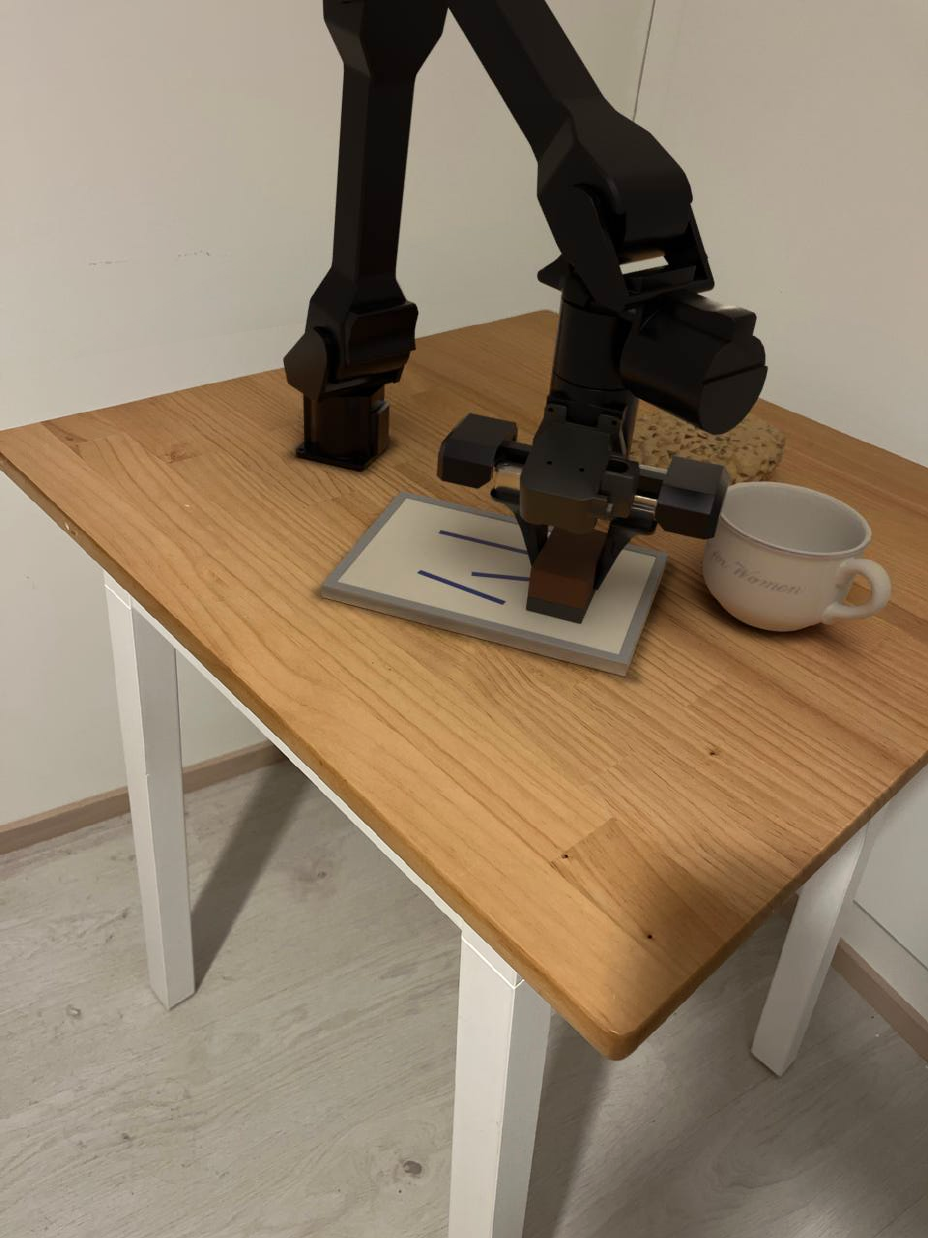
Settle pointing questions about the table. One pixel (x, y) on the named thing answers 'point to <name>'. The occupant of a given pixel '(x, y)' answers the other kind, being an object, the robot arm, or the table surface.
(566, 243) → the robot arm
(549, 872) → the table surface
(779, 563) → the teacup
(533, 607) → the eraser
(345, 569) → the whiteboard
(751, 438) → the sponge
